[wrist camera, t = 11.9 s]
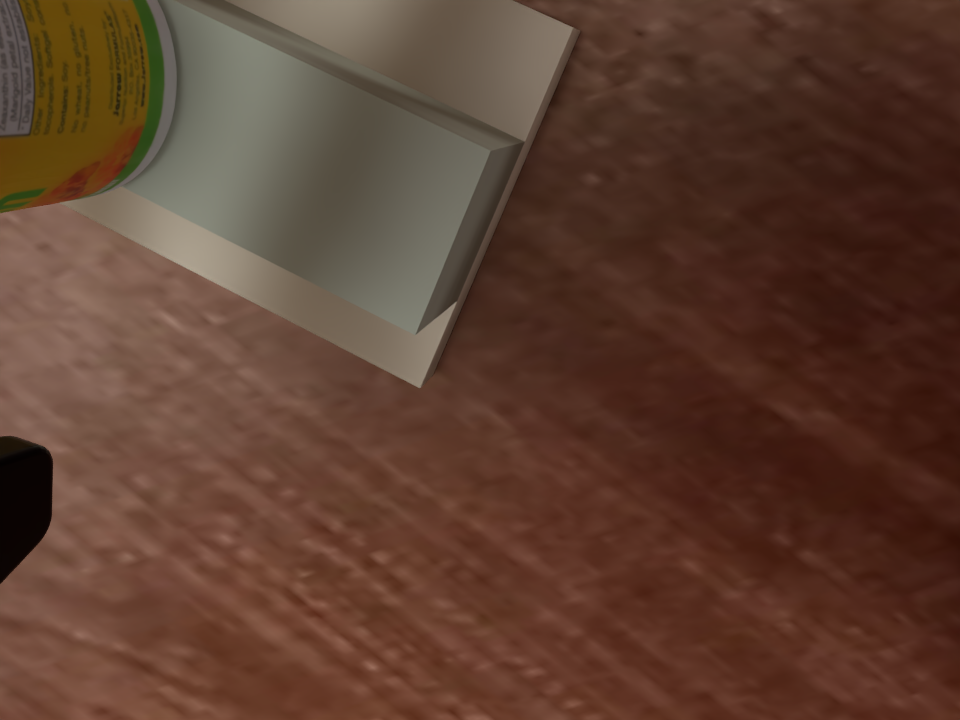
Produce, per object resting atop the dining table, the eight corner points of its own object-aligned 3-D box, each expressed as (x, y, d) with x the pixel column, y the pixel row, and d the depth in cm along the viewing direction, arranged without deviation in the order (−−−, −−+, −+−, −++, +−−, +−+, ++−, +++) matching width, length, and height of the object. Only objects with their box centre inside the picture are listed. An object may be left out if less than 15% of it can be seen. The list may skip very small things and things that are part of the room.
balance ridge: (580, 30, 18) (546, 15, 14) (432, 375, 21) (374, 434, 18) (-92, -273, 20) (-275, -355, 16) (-129, 88, 23) (-286, 88, 20)
